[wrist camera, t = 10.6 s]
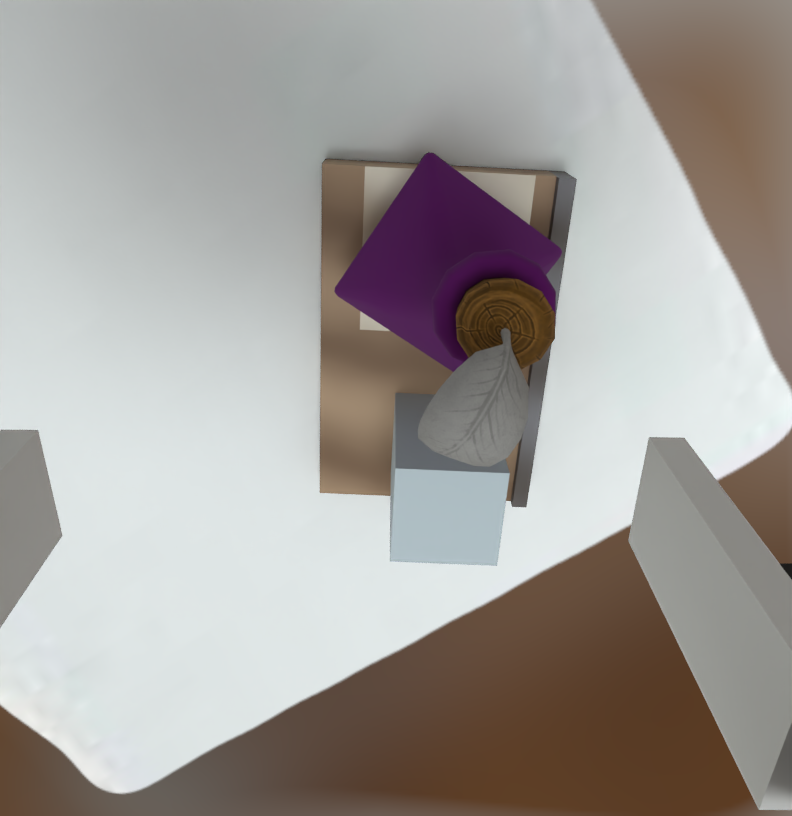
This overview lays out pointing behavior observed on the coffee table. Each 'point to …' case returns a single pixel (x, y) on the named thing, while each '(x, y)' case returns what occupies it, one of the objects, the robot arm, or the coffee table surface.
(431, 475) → the tea tin
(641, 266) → the coffee table surface
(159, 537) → the coffee table surface
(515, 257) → the perfume bottle
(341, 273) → the display board
